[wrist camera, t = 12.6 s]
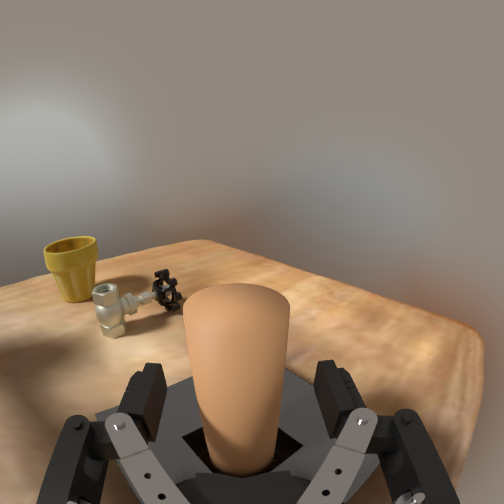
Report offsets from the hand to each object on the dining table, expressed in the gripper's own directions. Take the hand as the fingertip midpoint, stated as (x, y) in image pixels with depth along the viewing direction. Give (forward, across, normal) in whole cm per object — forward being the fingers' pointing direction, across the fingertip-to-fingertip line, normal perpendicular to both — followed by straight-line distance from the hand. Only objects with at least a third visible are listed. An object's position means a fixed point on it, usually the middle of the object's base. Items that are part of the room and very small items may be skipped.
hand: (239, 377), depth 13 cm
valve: (+22, +14, +11) cm, 28 cm away
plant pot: (+29, +29, +11) cm, 43 cm away
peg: (0, 0, +11) cm, 11 cm away
